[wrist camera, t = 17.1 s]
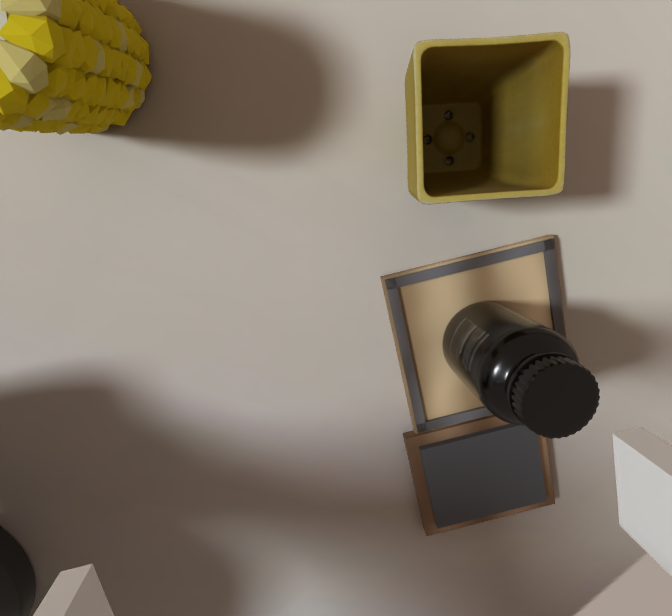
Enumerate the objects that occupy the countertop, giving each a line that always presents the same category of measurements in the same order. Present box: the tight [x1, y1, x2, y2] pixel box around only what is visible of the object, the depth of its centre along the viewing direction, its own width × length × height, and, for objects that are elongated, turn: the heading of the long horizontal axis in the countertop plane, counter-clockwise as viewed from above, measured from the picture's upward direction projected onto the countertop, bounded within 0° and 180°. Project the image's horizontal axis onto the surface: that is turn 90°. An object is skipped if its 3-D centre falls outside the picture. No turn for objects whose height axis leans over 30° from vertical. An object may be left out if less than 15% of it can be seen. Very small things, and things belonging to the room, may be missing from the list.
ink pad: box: [419, 424, 547, 529], centre depth 40 cm, size 10×8×1 cm
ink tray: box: [403, 415, 555, 536], centre depth 41 cm, size 12×10×1 cm
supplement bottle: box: [442, 301, 600, 439], centre depth 32 cm, size 7×7×12 cm
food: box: [0, 0, 152, 135], centre depth 25 cm, size 15×12×10 cm
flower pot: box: [405, 32, 570, 204], centre depth 30 cm, size 9×9×9 cm
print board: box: [381, 235, 566, 434], centre depth 38 cm, size 14×14×1 cm
